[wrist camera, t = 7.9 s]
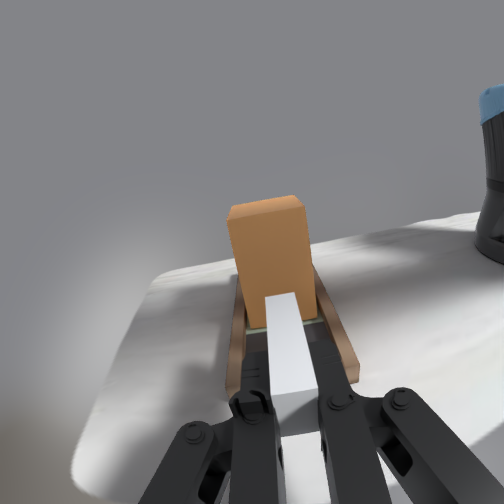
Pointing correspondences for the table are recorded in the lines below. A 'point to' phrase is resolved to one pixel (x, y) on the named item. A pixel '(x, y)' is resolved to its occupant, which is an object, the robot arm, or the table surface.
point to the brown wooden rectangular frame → (314, 331)
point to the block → (272, 255)
